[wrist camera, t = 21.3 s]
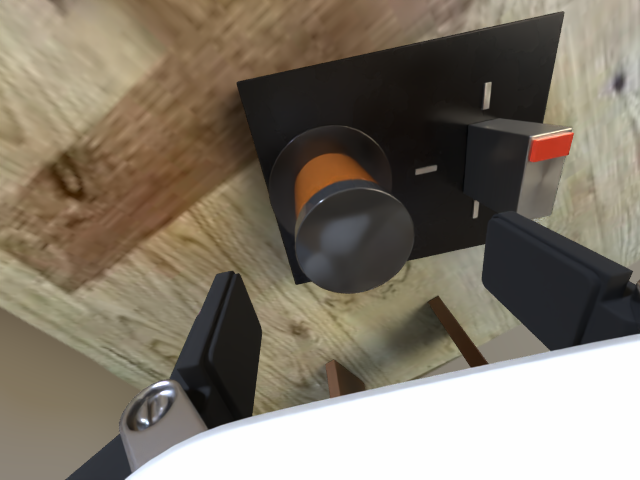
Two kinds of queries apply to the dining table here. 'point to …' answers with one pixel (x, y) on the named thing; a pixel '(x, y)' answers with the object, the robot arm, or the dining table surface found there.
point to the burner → (313, 146)
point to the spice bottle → (348, 226)
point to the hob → (414, 116)
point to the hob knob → (516, 165)
